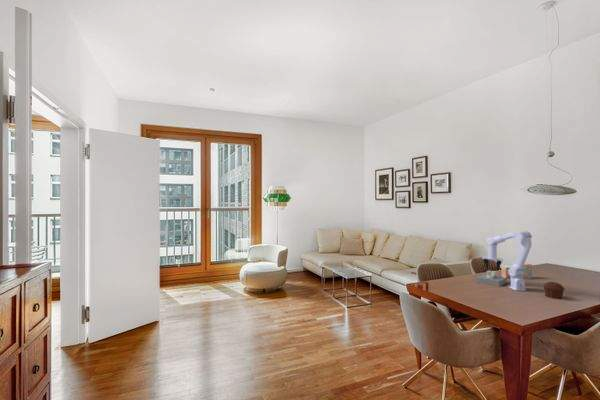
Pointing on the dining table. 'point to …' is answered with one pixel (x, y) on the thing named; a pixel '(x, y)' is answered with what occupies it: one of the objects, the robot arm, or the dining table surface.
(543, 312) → the dining table surface
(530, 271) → the stack of blocks
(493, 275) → the sage cube
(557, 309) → the dining table surface
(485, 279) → the base block
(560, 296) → the muffin
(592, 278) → the dining table surface
